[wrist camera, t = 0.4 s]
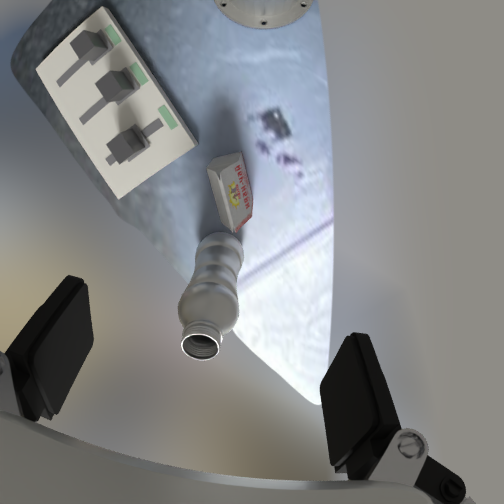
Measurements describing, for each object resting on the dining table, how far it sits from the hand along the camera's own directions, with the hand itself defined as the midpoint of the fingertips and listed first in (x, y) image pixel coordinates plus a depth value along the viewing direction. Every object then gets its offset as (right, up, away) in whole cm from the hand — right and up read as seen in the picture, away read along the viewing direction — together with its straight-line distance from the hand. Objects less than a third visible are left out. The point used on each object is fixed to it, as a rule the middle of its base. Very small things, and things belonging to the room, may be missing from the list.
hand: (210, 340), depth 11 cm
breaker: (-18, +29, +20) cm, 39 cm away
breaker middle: (-15, +23, +22) cm, 36 cm away
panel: (-17, +23, +25) cm, 38 cm away
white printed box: (-1, +13, +31) cm, 33 cm away
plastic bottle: (-3, +4, +35) cm, 36 cm away
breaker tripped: (-14, +17, +26) cm, 34 cm away
